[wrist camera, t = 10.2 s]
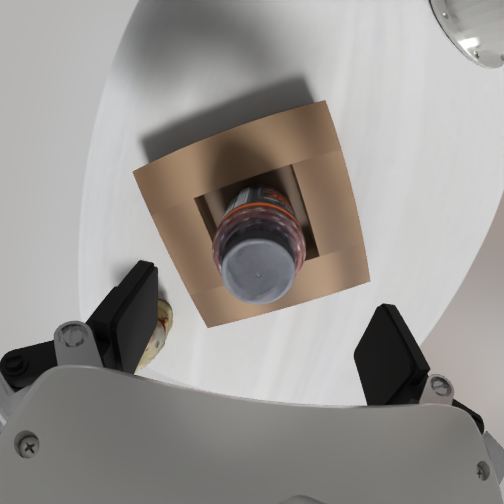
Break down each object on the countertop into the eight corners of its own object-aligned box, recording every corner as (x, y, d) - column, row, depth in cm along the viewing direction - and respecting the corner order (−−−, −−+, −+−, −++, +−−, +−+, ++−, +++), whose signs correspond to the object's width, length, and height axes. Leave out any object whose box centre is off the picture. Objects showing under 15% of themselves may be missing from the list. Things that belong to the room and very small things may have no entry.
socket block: (315, 105, 22) (325, 100, 18) (357, 262, 28) (370, 281, 24) (150, 165, 24) (132, 171, 21) (213, 305, 30) (207, 327, 26)
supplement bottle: (306, 210, 25) (338, 267, 14) (265, 257, 27) (267, 336, 16) (254, 168, 23) (248, 197, 13) (214, 220, 25) (182, 282, 15)
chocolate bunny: (192, 326, 32) (172, 391, 22) (145, 344, 33) (119, 402, 24) (164, 290, 30) (131, 351, 20) (119, 313, 31) (83, 368, 22)
